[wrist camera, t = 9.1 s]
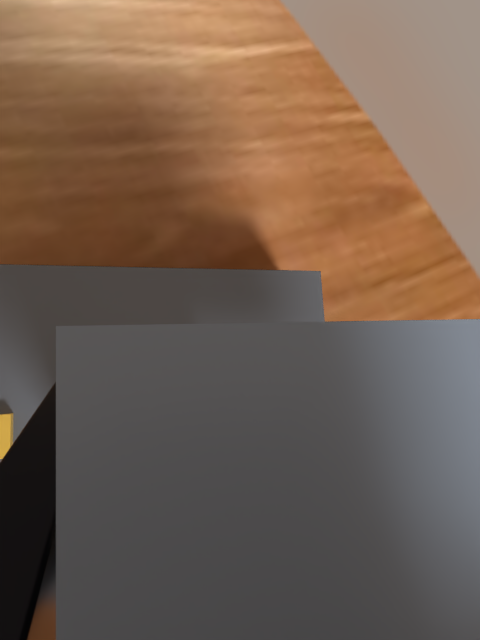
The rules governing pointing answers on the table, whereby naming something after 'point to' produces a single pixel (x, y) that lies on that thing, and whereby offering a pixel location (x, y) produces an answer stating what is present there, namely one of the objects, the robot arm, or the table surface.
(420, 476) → the plug
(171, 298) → the port panel
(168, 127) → the table surface
